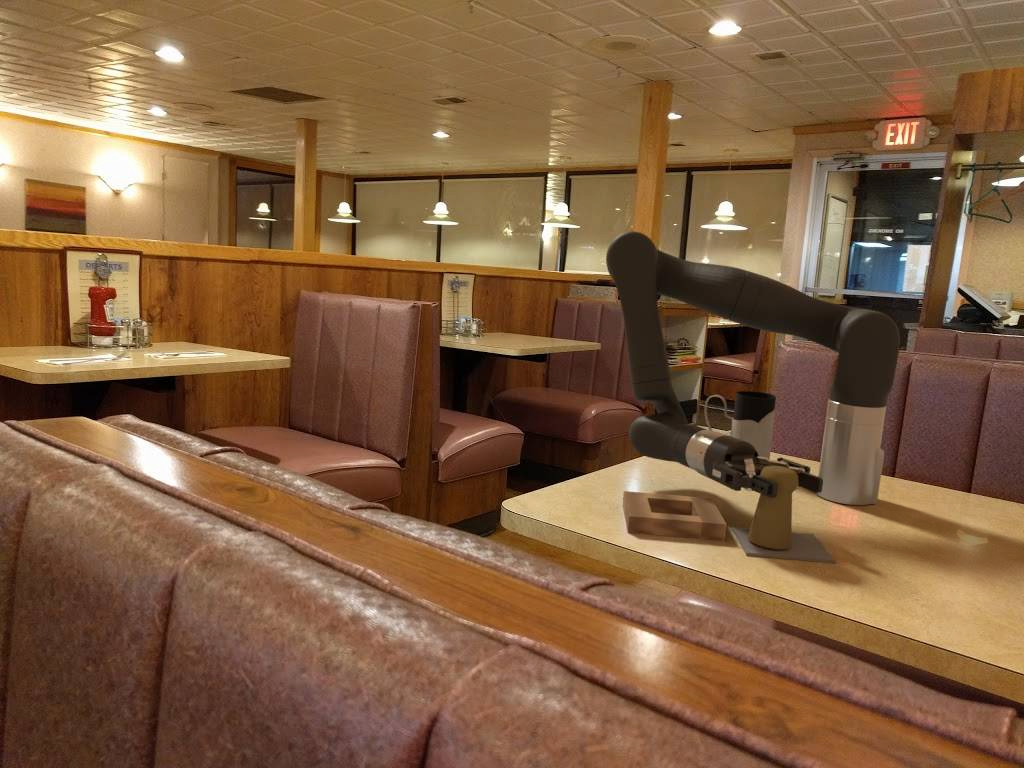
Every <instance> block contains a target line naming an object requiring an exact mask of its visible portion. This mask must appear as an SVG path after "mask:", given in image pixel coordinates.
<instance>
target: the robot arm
mask: <svg viewBox="0 0 1024 768" xmlns="http://www.w3.org/2000/svg"><path fill="white" fill-rule="evenodd" d="M607 248H608V249H607V251H606V255H605V264H606V267H607V271H608V274H609V276H610V278H611V280H613V282H614V285H615V287H616V291H617V293H618V298H619V301H620V306H621V311H622V317H623V322H624V323H623V324H624V332H625V341H626V342H625V343H626V354H627V362H628V370H629V376H630V383H631V388H632V389H631V391H632V394H633V397H634V399H635V400H637V401H639V402H645V403H646V402H647V403H651V404H652V405H653V406H654V408H655V410H656V413H654V414H653V413H651V414H647V415H646V414H645V415H642V416H639V417H637V418H635V420H633V422H632V423H631V425H630V427H629V430H628V438H629V441H630V443H631V446H632V447H633V449H635V451H636V452H637V453H639V454H640V455H642V456H645V457H647V458H651V459H655V460H661V461H664V462H665V461H666V462H672V463H673V462H674V463H678V464H680V465H681V466H684V467H687V468H689V469H691V470H693V471H694V472H697V473H698V474H700V475H701V476H702V477H706V478H707V479H710V480H712V481H714V482H716V483H719V484H721V485H722V486H725V487H727V488H729V489H730V490H732V491H735V492H741V490H742V488H743V489H744V491H747V492H756V493H758V494H759V495H760V494H762V495H765V496H767V497H769V498H775V497H776V496H777V489H778V484H777V483H776V482H774V481H772V480H769V479H767V478H764V477H762V476H760V473H761V471H762V469H763V468H764V467H767V466H782V467H786V468H789V469H791V470H793V471H795V472H796V473H797V475H798V486H797V487H800V488H802V489H803V490H807V491H810V492H812V493H815V494H816V495H818V496H819V497H821V498H823V499H825V500H827V501H831V502H835V503H839V504H844V505H850V506H851V505H852V506H853V505H854V506H866V505H877V504H878V499H879V498H878V497H879V492H880V487H881V486H880V485H881V479H882V471H883V465H884V459H885V458H884V457H885V451H884V450H883V449H882V448H881V445H882V440H883V438H882V437H883V431H884V424H885V417H886V411H887V410H886V409H887V404H888V398H889V395H890V394H891V391H892V390H893V387H894V381H895V376H896V375H895V374H896V370H897V365H898V360H899V353H900V345H901V334H900V329H899V326H898V325H897V323H896V322H895V321H894V320H893V318H891V317H890V316H889V315H887V314H886V313H883V312H880V311H877V310H872V309H868V308H867V309H866V308H860V307H859V308H858V307H853V306H848V305H845V304H844V305H842V304H838V303H834V302H831V301H825V300H822V299H819V298H817V297H813V296H811V295H809V294H806V293H804V292H802V291H800V290H798V289H796V288H795V287H793V286H790V285H788V284H786V283H783V282H781V281H779V280H775V279H774V278H770V277H767V276H765V275H762V274H760V273H759V274H758V273H755V272H753V271H751V270H746V269H742V268H740V267H734V266H729V265H722V264H713V263H702V262H696V261H695V262H694V261H689V260H685V259H683V258H679V257H677V256H674V255H672V254H669V253H667V252H665V251H661V250H659V249H657V247H656V244H655V243H654V242H653V240H652V239H651V238H650V237H649V236H648V235H646V234H644V233H642V232H639V231H634V230H630V231H625V232H622V233H620V234H619V235H617V236H616V237H615V238H614V239H613V240H612V241H611V243H610V245H609V246H608V247H607ZM657 295H658V296H659V295H660V296H663V297H668V298H671V299H674V300H676V301H679V302H682V303H685V304H687V305H688V306H691V307H693V308H696V309H697V310H701V311H704V312H706V313H709V314H710V315H714V316H717V317H719V318H721V319H724V320H727V321H730V322H733V323H736V324H739V325H742V326H745V327H748V328H752V329H755V330H760V331H764V332H765V331H766V332H771V333H776V334H780V335H781V334H782V335H787V336H788V335H789V336H793V337H798V338H801V339H804V340H808V341H810V342H812V343H815V344H817V345H820V346H822V347H824V348H827V349H830V350H832V351H833V352H835V353H838V355H837V363H836V368H835V373H834V377H833V378H834V379H833V381H832V383H831V384H830V385H829V386H830V387H829V394H828V401H827V408H826V415H825V423H824V430H823V438H822V446H821V452H820V453H821V454H820V461H819V469H818V476H817V475H815V474H812V473H811V467H810V466H808V465H804V464H801V463H799V462H795V461H792V460H790V459H786V458H783V457H782V456H781V457H777V458H776V460H773V459H769V458H767V457H760V456H759V455H758V453H757V451H756V449H755V447H754V446H753V445H752V444H750V443H748V442H746V441H743V440H740V439H737V438H734V437H732V436H730V434H726V433H723V432H720V431H714V430H713V431H710V430H709V429H707V428H704V427H701V426H699V425H695V424H689V422H688V419H687V417H686V415H685V412H684V411H683V408H682V406H681V404H680V401H679V398H678V396H677V393H676V392H675V390H674V387H673V383H672V379H671V378H672V376H671V370H670V364H669V358H668V352H667V347H666V343H665V339H664V333H663V328H662V324H661V319H660V314H659V306H658V296H657Z"/></svg>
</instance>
